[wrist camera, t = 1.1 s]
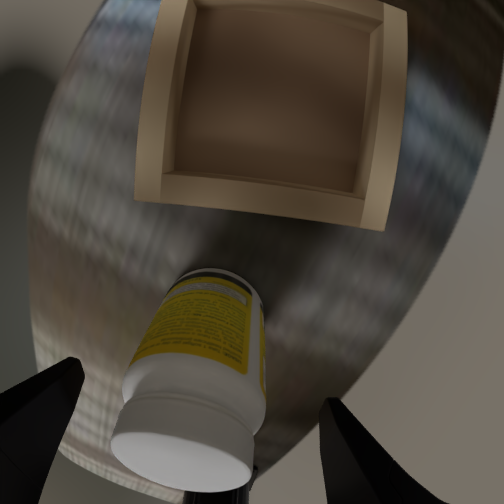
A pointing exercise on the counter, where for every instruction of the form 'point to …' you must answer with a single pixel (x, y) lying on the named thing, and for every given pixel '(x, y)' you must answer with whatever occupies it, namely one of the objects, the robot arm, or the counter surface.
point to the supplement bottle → (196, 386)
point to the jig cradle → (275, 108)
